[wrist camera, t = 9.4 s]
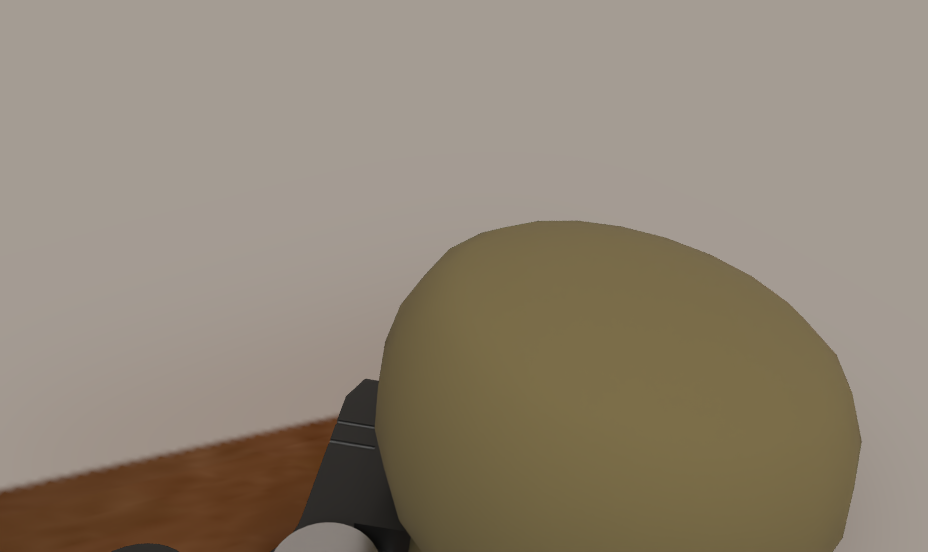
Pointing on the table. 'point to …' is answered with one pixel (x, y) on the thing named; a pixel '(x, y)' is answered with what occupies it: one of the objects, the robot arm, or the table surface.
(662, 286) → the cork
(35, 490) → the table surface
